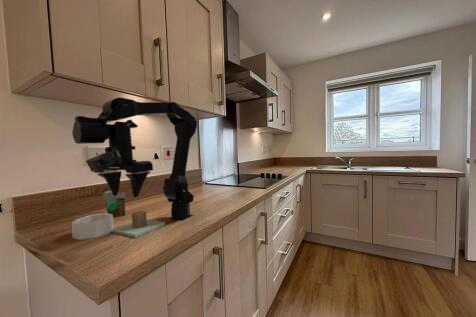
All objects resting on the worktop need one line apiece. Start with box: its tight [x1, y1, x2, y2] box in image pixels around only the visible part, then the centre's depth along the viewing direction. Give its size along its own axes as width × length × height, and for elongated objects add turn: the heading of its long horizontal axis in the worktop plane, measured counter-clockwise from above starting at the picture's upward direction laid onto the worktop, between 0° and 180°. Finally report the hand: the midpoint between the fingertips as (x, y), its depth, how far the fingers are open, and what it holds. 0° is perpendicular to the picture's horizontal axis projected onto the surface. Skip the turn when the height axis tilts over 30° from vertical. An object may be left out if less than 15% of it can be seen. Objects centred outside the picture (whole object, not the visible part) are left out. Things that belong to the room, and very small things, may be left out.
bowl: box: [71, 212, 114, 241], centre depth 63 cm, size 10×10×5 cm
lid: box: [112, 210, 166, 239], centre depth 65 cm, size 11×11×5 cm
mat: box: [110, 223, 168, 239], centre depth 65 cm, size 12×12×1 cm
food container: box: [103, 190, 126, 219], centre depth 81 cm, size 12×6×10 cm, turn 45°
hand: (125, 196), depth 59 cm, fingers open, 9 cm apart
